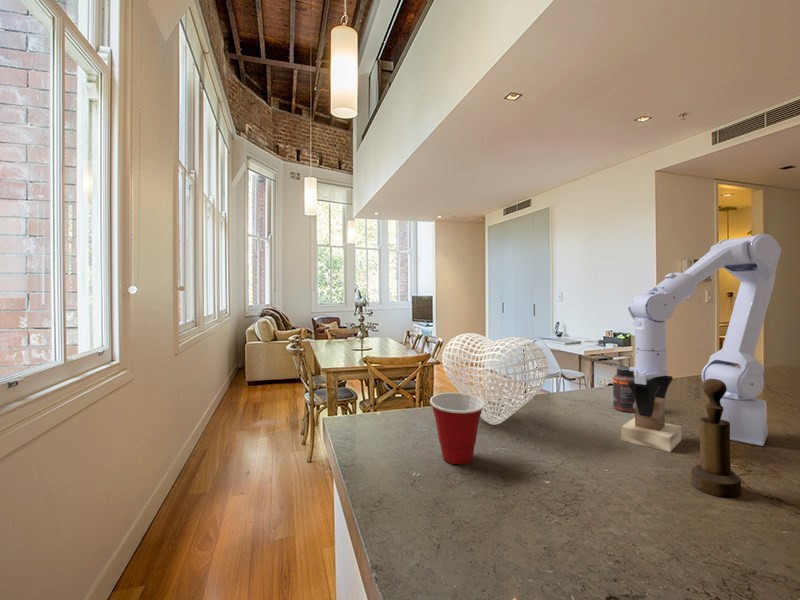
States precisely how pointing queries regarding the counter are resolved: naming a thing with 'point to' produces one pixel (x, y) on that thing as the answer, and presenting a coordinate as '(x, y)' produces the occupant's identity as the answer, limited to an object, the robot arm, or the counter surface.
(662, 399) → the walnut block
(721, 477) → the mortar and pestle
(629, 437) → the birch base block
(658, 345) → the robot arm
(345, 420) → the counter surface
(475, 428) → the plastic cup
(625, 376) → the supplement bottle
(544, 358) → the heart
